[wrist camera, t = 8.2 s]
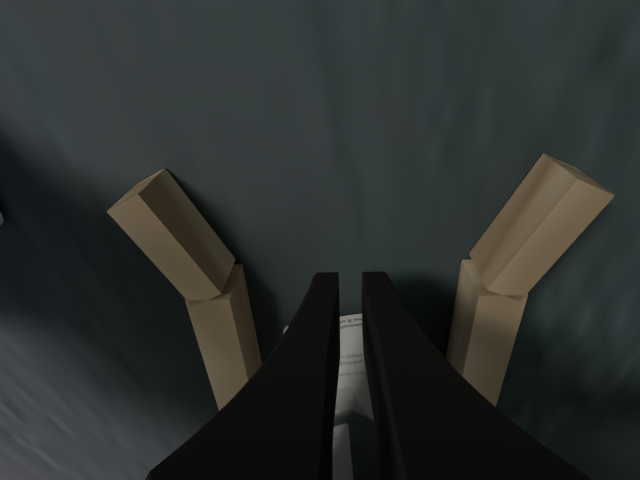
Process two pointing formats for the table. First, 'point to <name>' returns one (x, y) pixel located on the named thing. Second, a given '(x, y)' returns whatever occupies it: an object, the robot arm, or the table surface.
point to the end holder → (472, 291)
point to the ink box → (353, 410)
